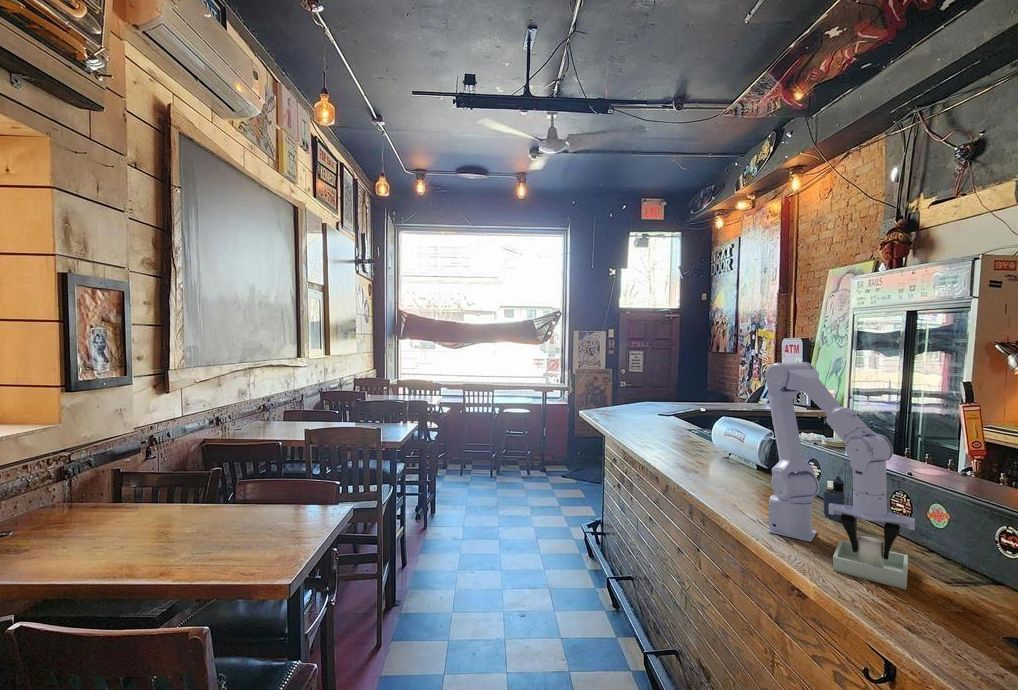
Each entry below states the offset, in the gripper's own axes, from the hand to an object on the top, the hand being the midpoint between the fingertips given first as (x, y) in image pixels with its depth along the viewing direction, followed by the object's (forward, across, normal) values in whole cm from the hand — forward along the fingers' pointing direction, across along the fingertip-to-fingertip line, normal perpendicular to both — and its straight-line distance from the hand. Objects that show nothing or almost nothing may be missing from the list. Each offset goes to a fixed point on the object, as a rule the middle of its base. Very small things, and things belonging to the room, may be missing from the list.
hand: (870, 554), depth 99 cm
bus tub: (+3, 0, 0) cm, 3 cm away
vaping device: (+4, -10, +30) cm, 31 cm away
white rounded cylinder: (+2, 0, 0) cm, 2 cm away
